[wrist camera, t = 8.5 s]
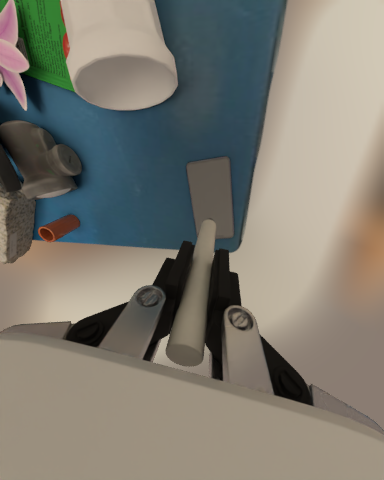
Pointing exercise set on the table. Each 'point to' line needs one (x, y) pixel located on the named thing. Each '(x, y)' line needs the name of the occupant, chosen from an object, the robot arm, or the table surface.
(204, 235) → the stylus
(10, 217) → the rock
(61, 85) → the tomato puree packet
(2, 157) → the sandal
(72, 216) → the pen cup
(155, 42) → the cup
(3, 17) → the lily
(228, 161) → the smartphone
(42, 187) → the pipe fitting
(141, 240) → the table surface
